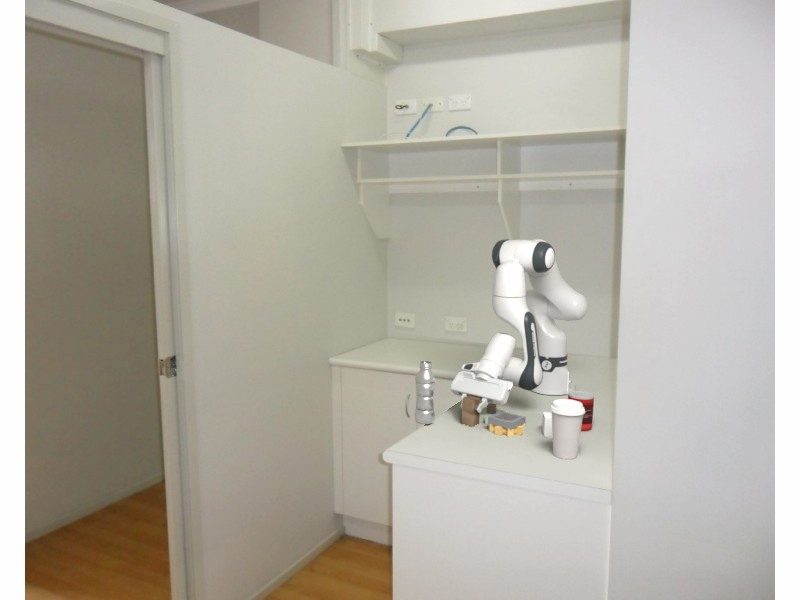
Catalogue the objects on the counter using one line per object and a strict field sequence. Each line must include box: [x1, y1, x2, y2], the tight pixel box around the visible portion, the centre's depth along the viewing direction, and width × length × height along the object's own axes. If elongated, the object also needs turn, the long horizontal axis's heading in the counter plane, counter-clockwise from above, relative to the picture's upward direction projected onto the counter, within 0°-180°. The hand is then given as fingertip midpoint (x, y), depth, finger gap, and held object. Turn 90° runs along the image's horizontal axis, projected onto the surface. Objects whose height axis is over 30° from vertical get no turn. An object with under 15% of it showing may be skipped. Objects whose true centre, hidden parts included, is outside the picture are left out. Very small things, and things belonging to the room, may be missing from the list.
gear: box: [479, 403, 507, 425], centre depth 207 cm, size 11×11×5 cm
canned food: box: [567, 390, 595, 432], centre depth 200 cm, size 8×8×11 cm
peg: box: [461, 396, 481, 427], centre depth 202 cm, size 4×4×8 cm
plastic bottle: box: [414, 360, 436, 425], centre depth 201 cm, size 6×7×20 cm
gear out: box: [487, 411, 527, 438], centre depth 197 cm, size 11×11×4 cm
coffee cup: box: [549, 398, 585, 460], centre depth 176 cm, size 10×10×15 cm
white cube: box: [541, 411, 553, 438], centre depth 194 cm, size 6×6×6 cm
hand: (469, 409), depth 201 cm, fingers closed on peg, 4 cm apart
